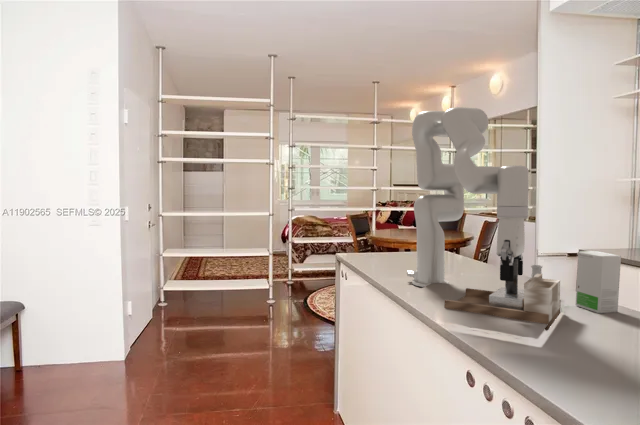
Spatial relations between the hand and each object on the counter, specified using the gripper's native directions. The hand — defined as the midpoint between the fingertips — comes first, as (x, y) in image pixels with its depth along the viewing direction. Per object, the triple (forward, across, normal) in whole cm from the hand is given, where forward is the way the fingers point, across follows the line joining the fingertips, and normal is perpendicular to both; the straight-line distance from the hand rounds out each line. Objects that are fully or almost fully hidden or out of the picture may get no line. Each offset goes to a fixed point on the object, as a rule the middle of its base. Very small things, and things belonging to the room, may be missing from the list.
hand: (511, 277), depth 115 cm
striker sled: (+8, 0, 0) cm, 8 cm away
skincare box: (+10, -19, +18) cm, 28 cm away
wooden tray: (+10, 0, -2) cm, 10 cm away
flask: (+10, -23, +2) cm, 25 cm away
